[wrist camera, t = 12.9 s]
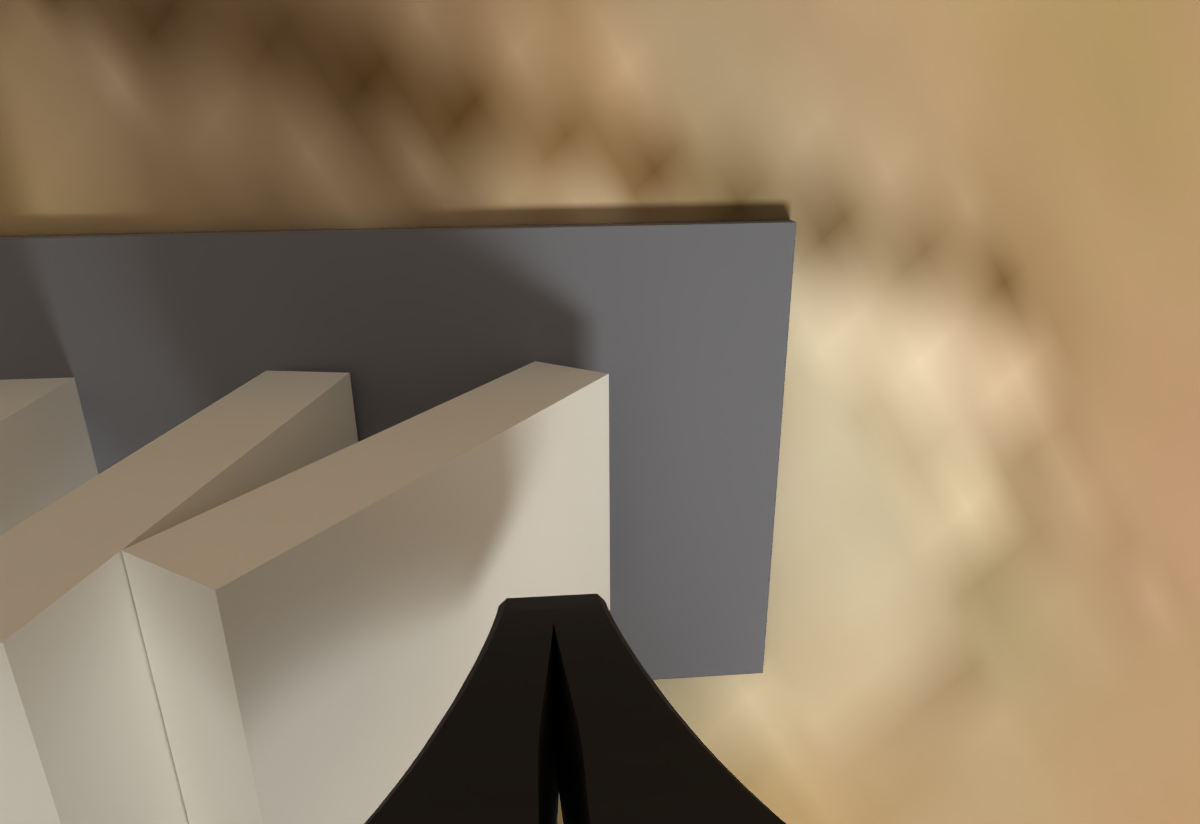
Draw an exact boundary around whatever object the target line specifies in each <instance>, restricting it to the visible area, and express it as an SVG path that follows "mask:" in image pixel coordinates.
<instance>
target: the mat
mask: <svg viewBox="0 0 1200 824" xmlns="http://www.w3.org/2000/svg"><path fill="white" fill-rule="evenodd" d="M795 234H796V222H794V221H792V220H779V221H730V222H682V223H633V224H584V225H536V226H487V227H438V228H390V229H341V230H292V231H244V232H195V233H146V234H98V235H49V236H0V380H9V379H39V378H70V377H74V379H75V383H76V387H77V391H78V395H79V399H80V403H81V407H82V411H83V415H84V419H85V423H86V427H87V431H88V435H89V439H90V443H91V447H92V451H93V455H94V459H95V463H96V467H97V471H98V475H99V474H100V473H102V472H104V471H105V470H107V469H108V468H110V467H112V466H113V465H115V464H116V463H118V462H120V461H121V460H123V459H124V458H126V457H128V456H129V455H131V454H133V453H134V452H136V451H137V450H139V449H141V448H142V447H144V446H145V445H147V444H149V443H150V442H152V441H153V440H155V439H157V438H158V437H160V436H162V435H163V434H165V433H166V432H168V431H170V430H171V429H173V428H174V427H176V426H178V425H179V424H181V423H182V422H184V421H186V420H187V419H189V418H191V417H192V416H194V415H195V414H197V413H199V412H200V411H202V410H203V409H205V408H207V407H208V406H210V405H211V404H213V403H215V402H216V401H218V400H220V399H221V398H223V397H224V396H226V395H228V394H229V393H231V392H232V391H234V390H236V389H237V388H239V387H241V386H242V385H244V384H245V383H247V382H249V381H250V380H252V379H253V378H255V377H257V376H258V375H260V374H261V373H263V372H265V371H305V372H344V373H350V380H351V388H352V396H353V404H354V412H355V420H356V428H357V436H358V442H359V441H362V440H364V439H366V438H368V437H370V436H373V435H375V434H377V433H379V432H381V431H384V430H386V429H388V428H390V427H392V426H394V425H397V424H399V423H401V422H403V421H405V420H408V419H410V418H412V417H414V416H416V415H419V414H421V413H423V412H425V411H427V410H429V409H432V408H434V407H436V406H438V405H440V404H443V403H445V402H447V401H449V400H451V399H454V398H456V397H458V396H460V395H462V394H464V393H467V392H469V391H471V390H473V389H475V388H478V387H480V386H482V385H484V384H486V383H489V382H491V381H493V380H495V379H497V378H499V377H502V376H504V375H506V374H508V373H510V372H513V371H515V370H517V369H519V368H521V367H524V366H526V365H528V364H530V363H532V362H534V361H537V362H543V363H549V364H555V365H561V366H567V367H573V368H578V369H584V370H590V371H596V372H602V373H608V374H609V497H610V613H611V615H612V617H613V619H614V621H615V623H616V624H617V626H618V628H619V630H620V631H621V633H622V635H623V637H624V638H625V640H626V641H627V643H628V645H629V646H630V648H631V649H632V651H633V653H634V654H635V656H636V657H637V659H638V660H639V662H640V663H641V665H642V666H643V667H644V669H645V670H646V672H647V673H648V674H649V676H650V677H651V679H652V680H655V679H671V678H687V677H703V676H719V675H735V674H751V673H763V662H764V649H765V636H766V622H767V609H768V595H769V582H770V569H771V555H772V542H773V528H774V515H775V502H776V488H777V475H778V461H779V448H780V435H781V421H782V408H783V395H784V381H785V368H786V354H787V341H788V328H789V314H790V301H791V287H792V274H793V261H794V247H795Z"/></svg>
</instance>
